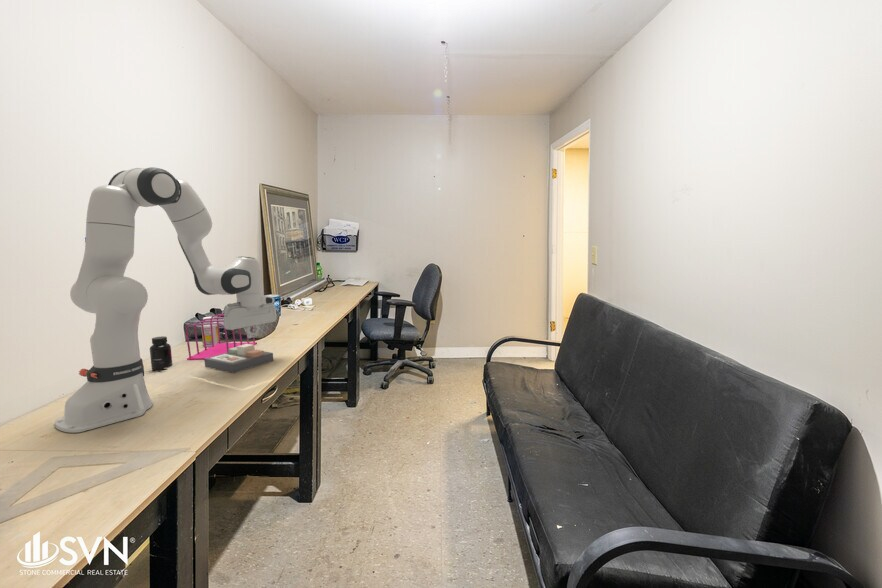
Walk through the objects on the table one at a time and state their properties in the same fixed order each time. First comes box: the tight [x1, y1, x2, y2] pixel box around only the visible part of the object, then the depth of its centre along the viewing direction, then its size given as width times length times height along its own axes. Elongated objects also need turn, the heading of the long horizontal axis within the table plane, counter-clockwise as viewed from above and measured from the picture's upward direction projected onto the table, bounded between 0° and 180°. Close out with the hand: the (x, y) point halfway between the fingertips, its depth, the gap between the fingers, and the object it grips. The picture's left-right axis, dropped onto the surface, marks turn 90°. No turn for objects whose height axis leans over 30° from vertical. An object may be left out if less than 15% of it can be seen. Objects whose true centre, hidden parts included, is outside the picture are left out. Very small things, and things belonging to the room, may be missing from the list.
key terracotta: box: [246, 349, 265, 358], centre depth 175 cm, size 4×4×4 cm
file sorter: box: [185, 313, 258, 361], centre depth 194 cm, size 17×25×16 cm
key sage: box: [228, 347, 237, 354], centre depth 180 cm, size 4×4×4 cm
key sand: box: [237, 344, 255, 356], centre depth 177 cm, size 4×4×4 cm
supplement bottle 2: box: [200, 316, 219, 348], centre depth 209 cm, size 7×7×13 cm
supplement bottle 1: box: [149, 335, 173, 372], centre depth 174 cm, size 7×7×12 cm
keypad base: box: [203, 350, 274, 374], centre depth 175 cm, size 17×17×4 cm
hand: (252, 337), depth 173 cm, fingers closed
